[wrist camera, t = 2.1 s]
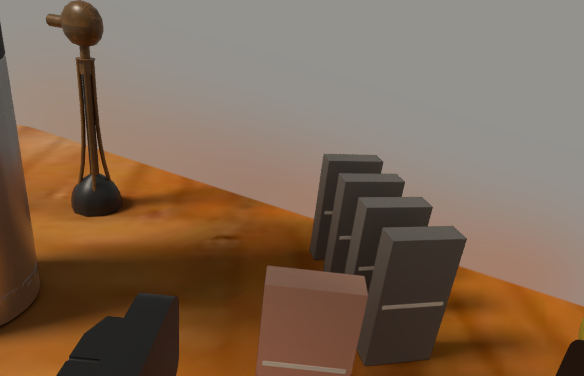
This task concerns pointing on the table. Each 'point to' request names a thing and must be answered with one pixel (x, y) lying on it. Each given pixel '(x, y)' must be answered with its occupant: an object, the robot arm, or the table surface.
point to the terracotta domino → (310, 322)
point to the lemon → (581, 331)
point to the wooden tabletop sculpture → (88, 110)
